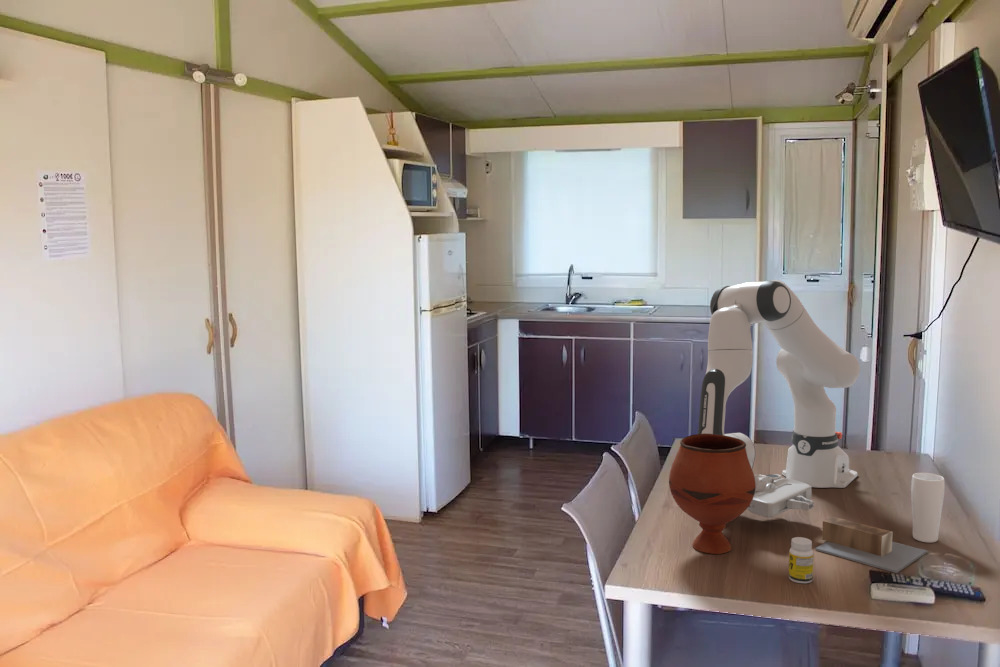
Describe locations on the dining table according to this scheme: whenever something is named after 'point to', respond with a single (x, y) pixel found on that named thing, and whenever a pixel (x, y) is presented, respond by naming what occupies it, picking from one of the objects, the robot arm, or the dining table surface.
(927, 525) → the drinking glass
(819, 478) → the robot arm
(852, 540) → the light wooden block
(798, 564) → the supplement bottle
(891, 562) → the rubber mat
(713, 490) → the goblet
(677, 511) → the dining table surface
